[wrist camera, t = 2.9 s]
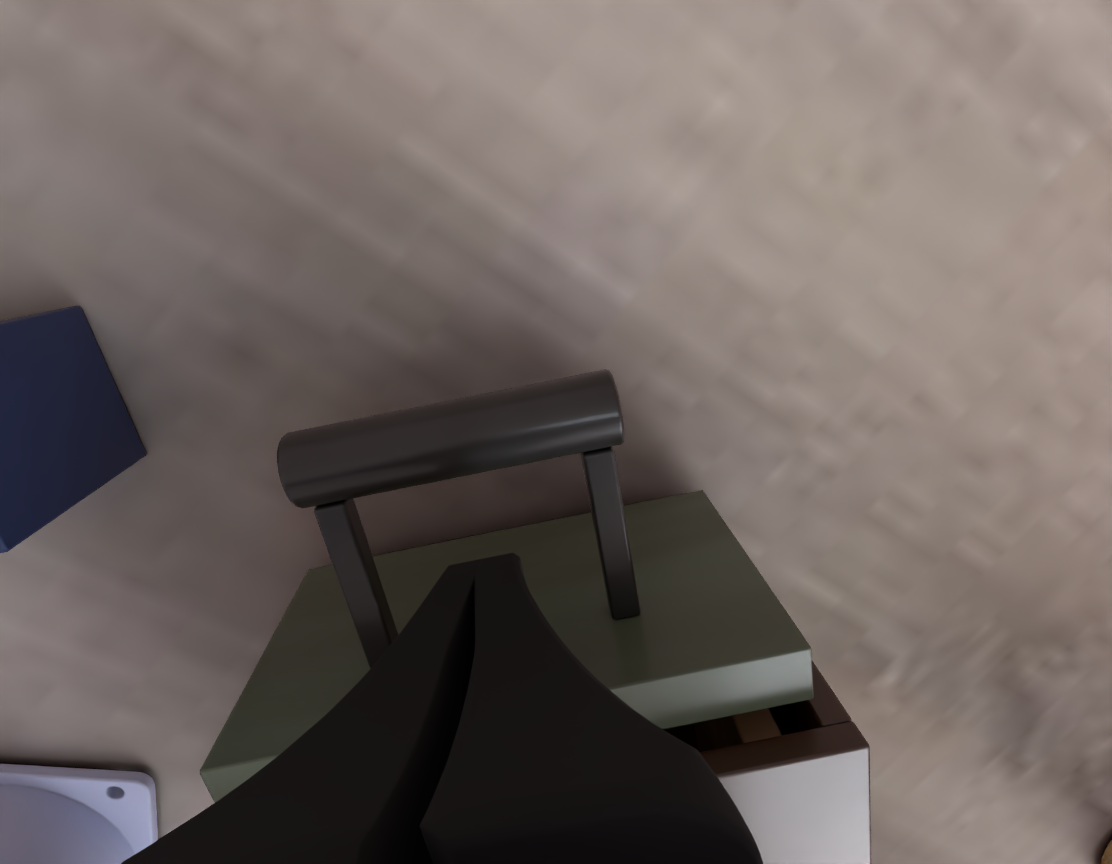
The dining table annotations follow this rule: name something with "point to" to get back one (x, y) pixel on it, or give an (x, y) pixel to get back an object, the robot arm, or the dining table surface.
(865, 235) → the dining table surface
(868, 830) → the cabinet
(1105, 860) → the sprinkles bottle
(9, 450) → the box
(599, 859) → the robot arm
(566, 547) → the drawer
